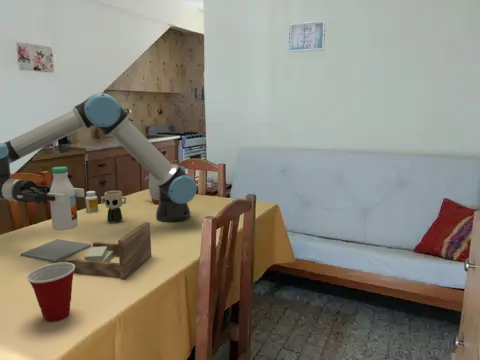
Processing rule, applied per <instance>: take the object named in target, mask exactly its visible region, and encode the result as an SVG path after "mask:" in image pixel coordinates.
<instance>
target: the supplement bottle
mask: <svg viewBox="0 0 480 360" xmlns="http://www.w3.org/2000/svg"><path fill="white" fill-rule="evenodd" d="M85 196H86V197H85ZM85 196H84V197H85V198H84V200H85V201H84V202H85V212H86V213H87V214H94V213H98V212H99V201H98V199H99V198H98V196H97V195H96V191H95V190H88V191H86V195H85Z"/></svg>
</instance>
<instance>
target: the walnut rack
mask: <svg viewBox="0 0 480 360" xmlns="http://www.w3.org/2000/svg"><path fill="white" fill-rule="evenodd" d="M104 246H107V251H113V253H114V256H113V257H118V261H119V262H110V261H109V262H101V261H89V260H85V259H76V258H74V259H73V258H65V259H64V262H68V263H73V264H74V265H75V269H74V272H73V274H78V275H79V274H80V275H87V276H89V275H90V276H100V277H112V278H120V279H121V280H127V279H128V278H129V277H130V276H132V274H133V273H135V272H136V271H137V270H139V268H140V267H141V266H143V265H144V264H145V263H146V262H147V261H148V260H150V258H152V241H151V223H150V222H149V221H144V222H143V223H141V224H140V225H138V226H137V227H135V228H134V229H133V230H131V231H129V232H128V233H127V234H125V235H124V236H122V237H121V238H119V239H118V240H117V243H111V242H98V241H94V242H93V243H92V247H104Z"/></svg>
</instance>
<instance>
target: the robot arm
mask: <svg viewBox="0 0 480 360" xmlns="http://www.w3.org/2000/svg"><path fill="white" fill-rule="evenodd" d="M129 117H130V116H129V113H127V112H126V110H125V109H124V108H123V107H122V105H120V104H119V102H118V100H117V99H116V98H115V97H114V96H112V95H111V94H108V93H106V92H105V93H104V92H97V93H94V94H92V95H91V96H90V95H89V97H88V98H86V99H85V100H84V101H82V102H81V103H79V104H77V105H74V106H73V108H72V110H71V111H69V112H66V113H64V114H62V115H61V116H58V117H55V118H53V119H51V120H50V121H48V122H46V123H43V124H41V125H38V127H35V128H33V129H31V130H28V131H27V132H25V133H22V134H20V135H17V136H15V137H14V138H12V139H10V140H8V141H5V142H2V143H1V142H0V200H1V201H11V202H14V203H27V204H28V203H35V204H40V203H42V204H43V205H47V204H48V202H49V203H50V202H57V203H66V200H65V194H57V193H50V188H51V185H52V184H47V185H41V184H39V185H38V184H37V183H36V182H34V181H33V180H29V179H18V178H17V179H16V178H12V176H11V175H12V174H11V166H10V164H12V163H14V162H17V161H18V160H19V159H21V158H24V157H26V156H28V155H31V154H32V153H34V152H36V151H38V150H40V149H43V148H45V147H46V146H48V145H52V144H53V143H55V142H57V141H59V140H61V139H63V138H65V137H67V136H69V135H72V134H74V133H77V131H79V130H81V129H86V130H87V129H89V128H92V127H96V128H97V129H98V130H99V131H100V132H101V133H102V134H103V135H104V136H105V137H112V138H113V139H114V140H115V141H116V142H117V143H119V145H121V146H122V147H123V149H124V150H125V151H127V152H128V153H129V154H130V155H131V156H132V157H133V158H134V159H135V160H136V162H138V163H139V164H140V165H141V166H142V167H143V168H144V169H145V170H146V171H147V173H148V172H149V173H150V174H151V175H152V176H153V177H154V178H155V179H156V185H157V186H158V187H159V204H157V205H158V206H157V209H156V213H155V214H156V215H155V218H156V220H157V221H159V222H162V223H163V222H164V223H165V222H166V223H175V222H176V223H178V222H182V221H186V220H188V219H190V218H191V210H190V207H189V205H188V203H189V202H191V201H192V200H193V199H194V197H195V196H196V194H197V190H198V189H197V183H196V181H195V179H193V177H191V176H190V175H188V174H187V172H186V168H185V166H183V165H182V166H181V165H178V164H174V163H171V162H170V161H169V160H168V159H167V158H166V157H165V156H164V154H162V153H161V152H160V151H159V149H157V147H155V145H153V144H152V143H151V142H150V141H149V140H148V138H146V136H145V135H143V133H142V132H141V131H140V130H138V129H137V127H136V126H135V125H134V124H133V123H132V122H131V121H130V120H129V119H130V118H129ZM73 188H74V192H75V198H84V197H85V189H84V188H78V187H73Z"/></svg>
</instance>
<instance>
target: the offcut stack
mask: <svg viewBox="0 0 480 360" xmlns="http://www.w3.org/2000/svg"><path fill="white" fill-rule="evenodd" d="M113 257H115V256H114V253H113V251H107V246H104V247H93V246H91V247H89V248H88V251H87V253H86V254H85V256H84V260H89V261H101V262H110V261H111V260H112V259H113Z"/></svg>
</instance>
